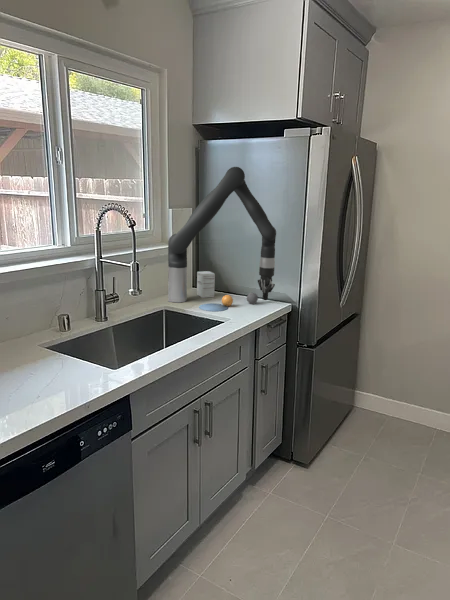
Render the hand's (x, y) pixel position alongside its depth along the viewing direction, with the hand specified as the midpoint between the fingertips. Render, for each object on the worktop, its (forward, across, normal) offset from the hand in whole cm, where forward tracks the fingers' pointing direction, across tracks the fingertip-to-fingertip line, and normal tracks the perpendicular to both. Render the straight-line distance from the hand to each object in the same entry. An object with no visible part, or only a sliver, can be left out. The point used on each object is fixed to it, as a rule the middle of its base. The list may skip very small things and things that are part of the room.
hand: (265, 299), depth 234 cm
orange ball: (-1, 0, +22) cm, 22 cm away
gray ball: (-2, 0, +8) cm, 8 cm away
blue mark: (+1, 0, +29) cm, 29 cm away
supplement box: (+2, +23, +23) cm, 32 cm away
